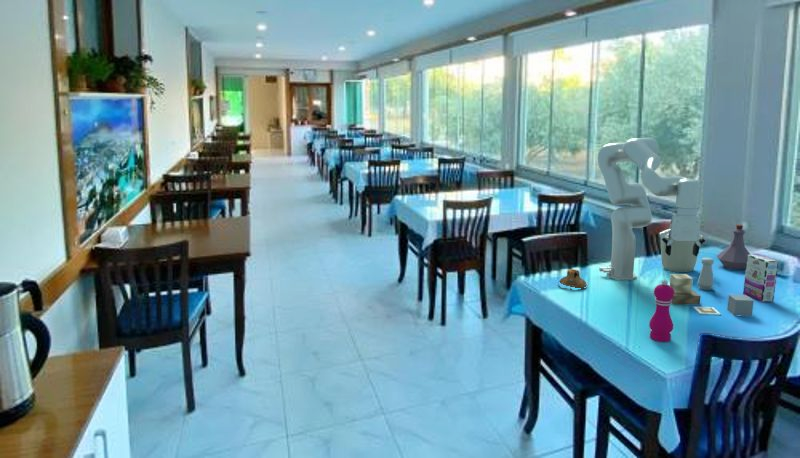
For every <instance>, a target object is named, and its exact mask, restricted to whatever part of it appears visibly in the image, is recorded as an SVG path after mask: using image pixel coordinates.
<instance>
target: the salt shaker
mask: <svg viewBox="0 0 800 458" xmlns="http://www.w3.org/2000/svg"><path fill="white" fill-rule="evenodd" d="M701 263H702V267H701V271H700V274H699V277H698V280H697V285H698V288H699V289H700V290H703V291H710V290H711V289H712V288H713V286H714V285H715V284H714V277H713V276H714V275H713V274H714V273H713V265H714V259H713V258H711V257H703V258H702V259H701Z"/></svg>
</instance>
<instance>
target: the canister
mask: <svg viewBox="0 0 800 458" xmlns="http://www.w3.org/2000/svg"><path fill="white" fill-rule="evenodd" d="M666 230H667V229H664V230H662V231H661V232H664V231H666ZM661 232H659V233H658V235H659V234H660V233H661ZM668 238H669V234H667V235H665V239H666V240H667V239H668ZM701 238H702V235H700V238H699V240H700V239H701ZM694 244H695V243H694V242H676V241H673V242H672V243H671V255H670V256H668V255H667V254H666V252H665V248H666V244H665V243H664V242H663V241H662V239H661V238H660V255H661V265H662V267H663V268H664V269H665V270H667V271H669V272H674V273H675V272H676V273H689V272H692V271H693V270H694V269H695V267H696V263H697V260H698V256H699V253H698V254H697V256H694V255H693V245H694ZM700 247H701V246H699V248H700Z"/></svg>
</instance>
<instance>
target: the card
mask: <svg viewBox="0 0 800 458" xmlns="http://www.w3.org/2000/svg"><path fill="white" fill-rule="evenodd" d="M692 308H693V309H694V310H695V311H696V312H697V313H698V314H699V315H706V316H707V315H710V316H711V315H714V316H721V312H719V311H718V310H717V309H716V308H715V307H713V306H712V307H711V306H693V307H692Z"/></svg>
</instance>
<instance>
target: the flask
mask: <svg viewBox="0 0 800 458" xmlns="http://www.w3.org/2000/svg"><path fill="white" fill-rule="evenodd" d="M735 227H736V228H735V229H732V233H733V237H732V240H731V242H730V245H728V246H727V247H726V248H725V249H724V250H722V251H721V252H719V253H718V254H716V258H717V259H718V260H719V261H720V263H721V264H722V266H723V267H725V268H726V269H729V270H735V271H745V270H746V264H747V256H748V255H752V253H750V252H749V250H748V249H747V248H746V246H745V241H744V235H745V233H746V231H745V230H743V225H741V224H736V226H735Z"/></svg>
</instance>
